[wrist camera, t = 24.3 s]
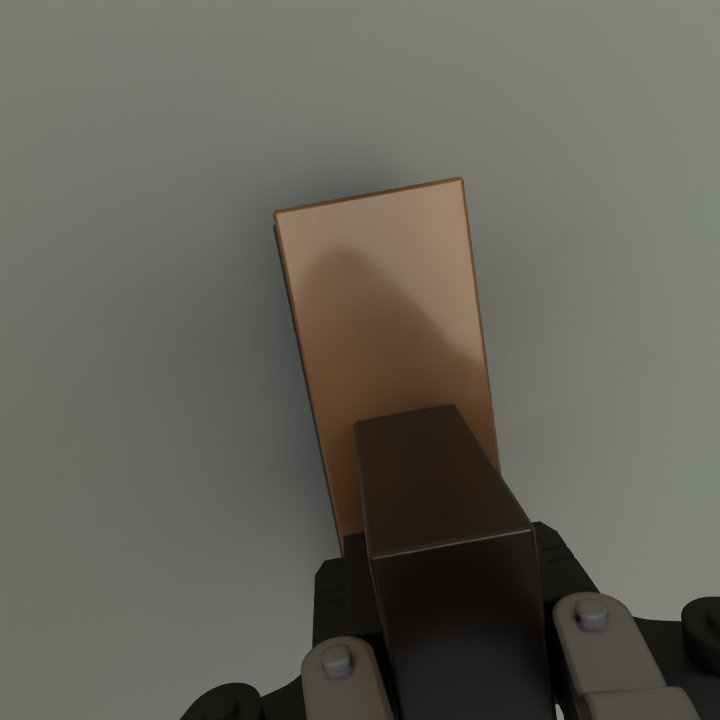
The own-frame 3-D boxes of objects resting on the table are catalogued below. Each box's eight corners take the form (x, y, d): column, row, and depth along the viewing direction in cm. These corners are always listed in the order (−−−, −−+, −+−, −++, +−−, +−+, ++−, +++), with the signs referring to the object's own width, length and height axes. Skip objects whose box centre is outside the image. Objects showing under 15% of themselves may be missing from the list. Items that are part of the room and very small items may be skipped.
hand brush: (375, 695, 21) (410, 1069, 12) (276, 211, 17) (214, 214, 8) (510, 669, 21) (649, 1023, 12) (444, 181, 17) (576, 148, 8)
